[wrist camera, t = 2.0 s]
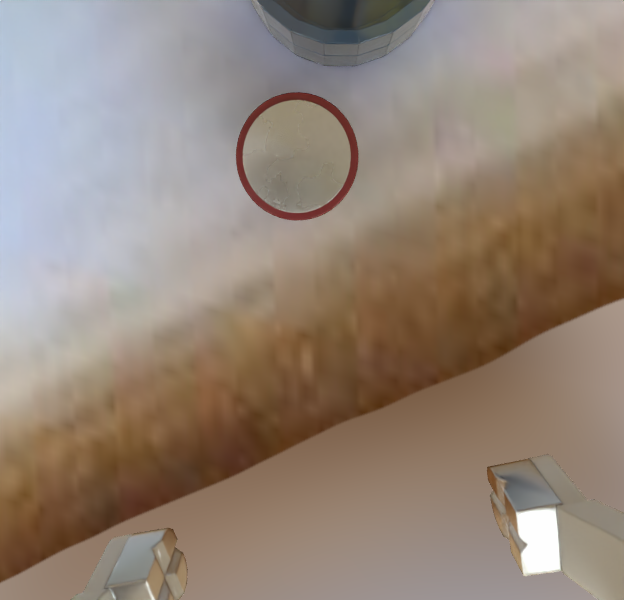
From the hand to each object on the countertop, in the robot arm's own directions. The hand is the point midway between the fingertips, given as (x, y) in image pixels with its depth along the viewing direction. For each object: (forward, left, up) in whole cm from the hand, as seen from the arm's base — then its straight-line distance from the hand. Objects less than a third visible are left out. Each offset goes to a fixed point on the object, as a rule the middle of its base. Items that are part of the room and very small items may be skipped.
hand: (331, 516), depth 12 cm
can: (+4, +9, -26) cm, 28 cm away
